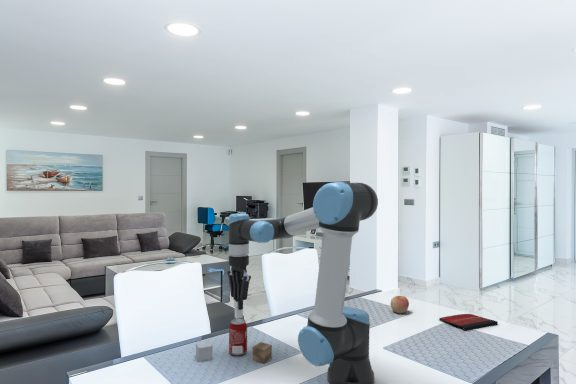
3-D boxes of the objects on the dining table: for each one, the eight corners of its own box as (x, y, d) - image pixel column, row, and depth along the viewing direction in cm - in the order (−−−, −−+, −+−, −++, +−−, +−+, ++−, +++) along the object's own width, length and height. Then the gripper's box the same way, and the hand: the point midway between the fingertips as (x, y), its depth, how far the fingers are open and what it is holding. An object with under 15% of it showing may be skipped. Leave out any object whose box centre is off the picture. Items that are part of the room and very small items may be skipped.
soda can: (243, 357, 142) (244, 324, 142) (226, 355, 144) (226, 323, 143) (249, 349, 149) (249, 318, 149) (232, 348, 150) (232, 317, 150)
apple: (410, 311, 196) (410, 295, 196) (405, 316, 189) (405, 300, 189) (393, 308, 201) (393, 293, 201) (388, 313, 194) (388, 297, 193)
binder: (497, 321, 179) (464, 327, 170) (498, 326, 179) (464, 332, 170) (469, 311, 193) (436, 317, 185) (469, 316, 193) (437, 322, 185)
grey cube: (212, 359, 140) (212, 345, 140) (198, 362, 138) (198, 348, 138) (209, 354, 145) (209, 340, 145) (195, 356, 143) (195, 343, 143)
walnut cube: (271, 358, 142) (271, 344, 142) (263, 363, 138) (264, 349, 137) (260, 355, 144) (260, 341, 144) (252, 360, 140) (252, 346, 140)
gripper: (257, 256, 143) (256, 319, 143) (238, 251, 153) (237, 311, 153) (239, 258, 138) (239, 324, 138) (221, 253, 148) (221, 315, 148)
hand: (238, 317), depth 146 cm, fingers closed
